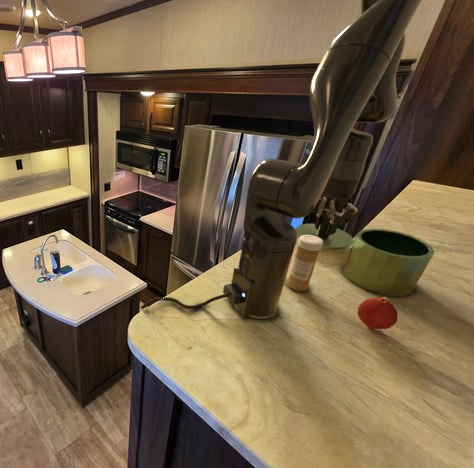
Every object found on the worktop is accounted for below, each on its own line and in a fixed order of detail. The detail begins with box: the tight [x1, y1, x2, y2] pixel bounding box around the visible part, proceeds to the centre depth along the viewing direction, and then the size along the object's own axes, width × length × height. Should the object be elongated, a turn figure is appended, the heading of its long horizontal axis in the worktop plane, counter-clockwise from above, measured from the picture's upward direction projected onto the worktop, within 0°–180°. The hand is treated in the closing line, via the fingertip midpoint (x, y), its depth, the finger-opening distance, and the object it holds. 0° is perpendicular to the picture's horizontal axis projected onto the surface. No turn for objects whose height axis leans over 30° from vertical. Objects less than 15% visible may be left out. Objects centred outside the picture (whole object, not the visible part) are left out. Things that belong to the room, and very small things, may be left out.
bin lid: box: [294, 213, 354, 250], centre depth 83 cm, size 14×14×7 cm
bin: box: [342, 228, 436, 297], centre depth 69 cm, size 13×13×10 cm
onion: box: [357, 296, 398, 330], centre depth 57 cm, size 6×6×8 cm
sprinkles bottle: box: [286, 235, 323, 292], centre depth 68 cm, size 5×5×13 cm
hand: (323, 231), depth 84 cm, fingers closed on bin lid, 3 cm apart
